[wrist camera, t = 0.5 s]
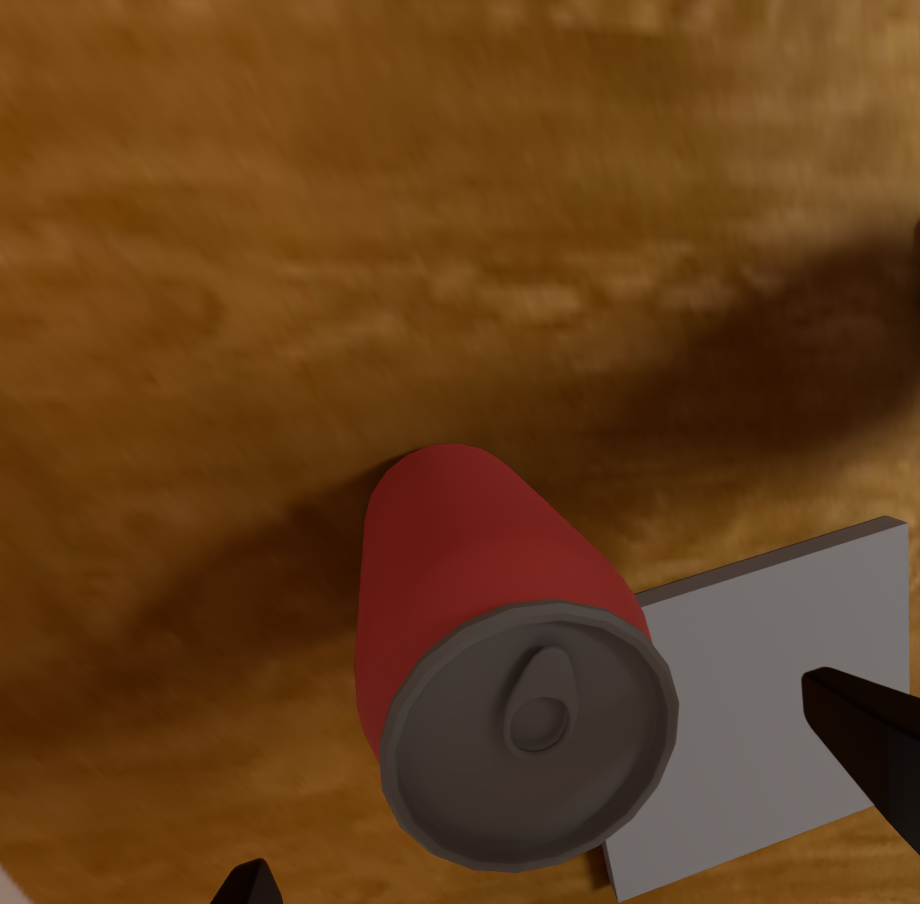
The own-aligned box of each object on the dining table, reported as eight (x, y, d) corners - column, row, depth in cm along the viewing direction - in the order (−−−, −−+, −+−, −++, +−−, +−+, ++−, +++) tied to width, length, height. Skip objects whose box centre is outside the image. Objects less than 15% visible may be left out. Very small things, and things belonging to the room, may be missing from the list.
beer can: (535, 447, 20) (745, 586, 9) (512, 595, 22) (667, 887, 10) (372, 431, 19) (366, 568, 8) (357, 589, 20) (331, 912, 9)
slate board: (886, 515, 24) (908, 522, 23) (891, 775, 28) (910, 791, 27) (554, 619, 22) (562, 632, 21) (609, 881, 26) (618, 902, 25)
